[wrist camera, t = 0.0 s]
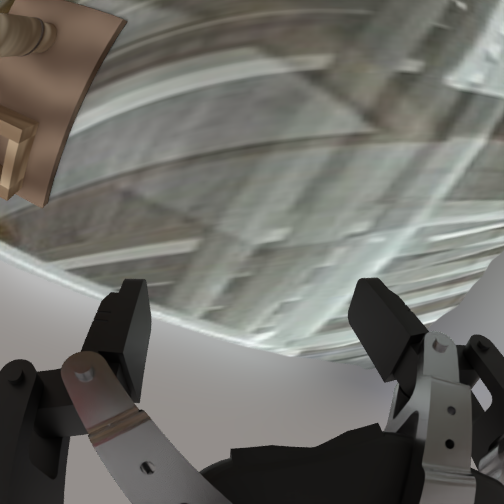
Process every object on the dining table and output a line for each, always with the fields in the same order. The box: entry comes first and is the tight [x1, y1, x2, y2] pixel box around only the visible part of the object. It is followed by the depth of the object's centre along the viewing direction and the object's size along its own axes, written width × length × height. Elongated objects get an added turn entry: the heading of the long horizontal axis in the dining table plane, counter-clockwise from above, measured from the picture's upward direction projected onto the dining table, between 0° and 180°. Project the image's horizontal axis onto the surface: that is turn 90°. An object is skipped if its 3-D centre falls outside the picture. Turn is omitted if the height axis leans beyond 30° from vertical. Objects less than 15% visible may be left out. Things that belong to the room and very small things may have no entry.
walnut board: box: [0, 0, 127, 208], centre depth 18 cm, size 23×16×5 cm
